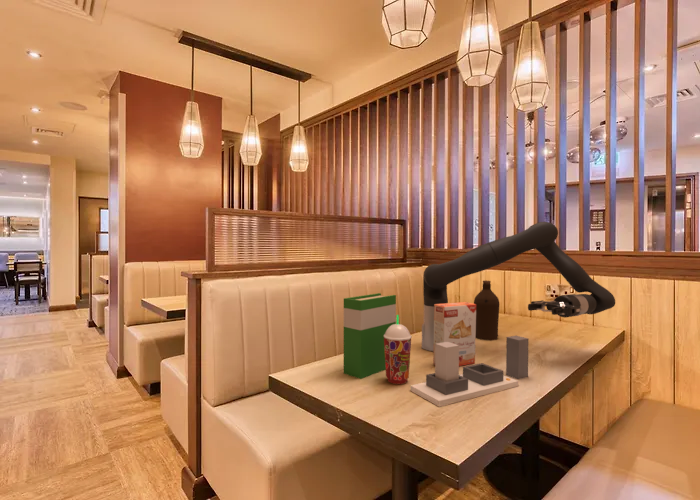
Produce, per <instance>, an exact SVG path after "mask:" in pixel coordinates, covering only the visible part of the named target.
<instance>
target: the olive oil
mask: <svg viewBox="0 0 700 500" xmlns="http://www.w3.org/2000/svg"><path fill="white" fill-rule="evenodd" d="M491 286H492V284H491V280H483V281H482V289H481V290H480V291H479V292H478V293H477V294H476V295H475V297H474V300H473V304H476V338H475V339H479V340H484V341H494V340H497V339H499V337H498V336H499V317H500V316H499V315H500V300H499V297H498V296H497V295H496V294H495V293H494V291H493V290H492V289H491Z"/></svg>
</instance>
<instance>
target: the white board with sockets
mask: <svg viewBox="0 0 700 500" xmlns="http://www.w3.org/2000/svg"><path fill="white" fill-rule="evenodd" d="M434 367H435V368H434V372H433V373H427V374H425V377H426V378H425V380H426V381H425V382H424V381H423V382H418V383H416V384H411V385H409V386H410V392H412V393H414V394H416V395H417V396H419V397H421V398H423V399H424V400H426V401H428V402H430V403H432V404H433V405H435V406H438V408H439V407H444V406H447V405H451V404H455V403H458V402H464V401H467V400H471V399H474V398H478V397H483V396H485V395H489V394H494V393H497V392H500V391H505V390H508V389H512V388H516V387H519V384H520V383H519V379H516V378H513V377H510V376H508V375H504V370H502V369H499V368H497V367H494V366H491V365H488V364H486V363H483V362H481V363H476V364H470V365H465V366H463V367H462V374H460V366H459V345H456V344H453V343H450V342H443V343H436V344H435V364H434Z"/></svg>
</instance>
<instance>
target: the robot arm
mask: <svg viewBox="0 0 700 500" xmlns="http://www.w3.org/2000/svg"><path fill="white" fill-rule="evenodd" d="M558 235H559V230H558V228H557V226H556V225H555V224H554V223H552V222H548V221H539V222H536V223H534V224H532V225H530V226H528V228H526V229H524V230H522V231H520V232H517V233H515V234H513V235H510V236H506V237H502V238H498V239H495V240H492V241H488V242H487V243H484V244H482V245H479V246H476V247H474V248H472V249H471V250H469V251H467V252H466V253H464V254H463V255H461V256H459V257H457V258H455V259H452V260H450V261H446V262H443V263H432V264H429V265H428V266H427V267H426V268H425V269H424V271H423V277H422V282H423V283H422V284H423V286H422V287H423V292H422V293H423V323H422V324H421V349H422V350H425V351H429V352H433V350H434V304H445V303H449V297H448V285H451V283H453V282H455V281H457V280H460V279H461V278H464V277H466V276H469V275H473V274H478V273H480V272H483V271H485V270H489V269H491V268H494V267H496V266H497V267H498V265H501V264H503V263H506V262H507V261H510V260H511V259H514V258H516V257H517V256H519V255H521V254H524V253H526V252H529V251H532V250H536V251H538V252H539V253H540V254H541V255H542V256H543V257H544V258H545V259H546V260H548V262H549V263H551V265H553V267H554V268H555V269H556V270H557V271H558V272H559V273H560V274H561V275H560V276H562V277H563V278H564V280H565V281H566V282H567V283H568V284H569V286H571V288H572V289H573V290H574V291H575V292H576V293H579V294H576V293H573V294H563V295H562V294H561V295H558V296H557V297H555V298H554V300H550V301H548V300H547V301H546V300H535V301H534V300H533V301H530V303H528V304H527V309H528V311H531V312H533V311H542V312H544V313H546V312H547V313H551V315H553V316H557V315H558V316H559V317H561V318H572V317H579V316H581V315H596V314H598V313H601V312H605V311H607V310H609V309H612V308H614V307H615V306H616V298H615V296H614V294H612V292H611V291H609V290H608V288H606V287H604V286H602V285H601V284H599V282H597V281H595V280H594V279H593V278H592V277H591V276H590V275H589V274H588V273H587V271H585V269H584V268H583V267H582V266H581V265H580V264H579V263H578V262H577V261H576V260H574V259H573V258H571V256H569V255H568V254H567V253H565V251H563V250H562V249H561V248H560V246H559V245H558V244H557V243H556V242H555V241H556V240H557V238H558ZM587 293H588V294H587ZM589 293H590V294H589Z"/></svg>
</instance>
